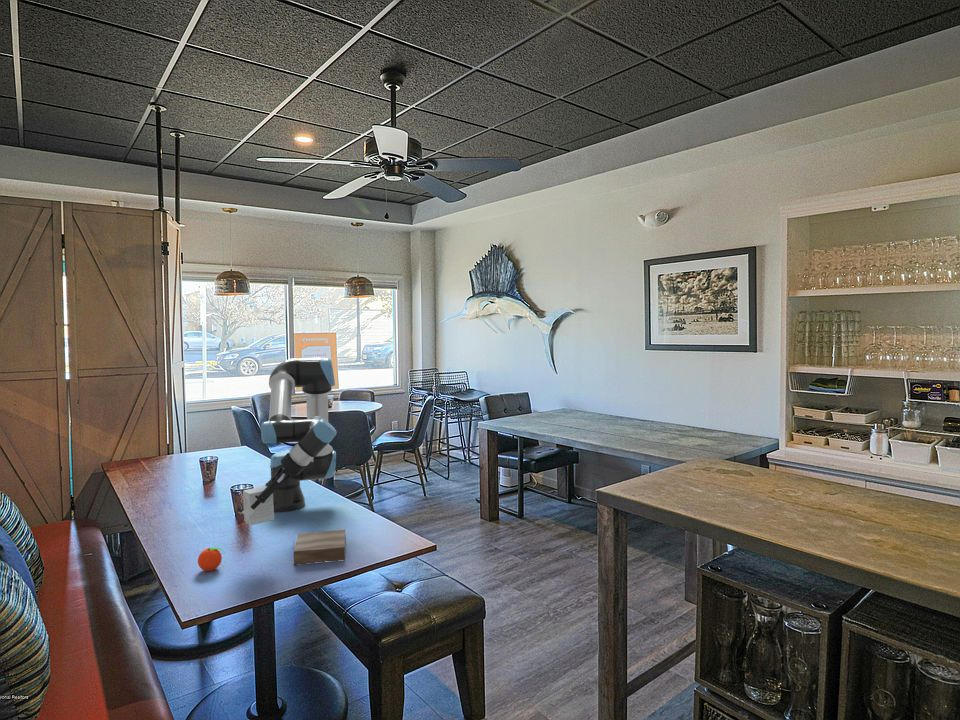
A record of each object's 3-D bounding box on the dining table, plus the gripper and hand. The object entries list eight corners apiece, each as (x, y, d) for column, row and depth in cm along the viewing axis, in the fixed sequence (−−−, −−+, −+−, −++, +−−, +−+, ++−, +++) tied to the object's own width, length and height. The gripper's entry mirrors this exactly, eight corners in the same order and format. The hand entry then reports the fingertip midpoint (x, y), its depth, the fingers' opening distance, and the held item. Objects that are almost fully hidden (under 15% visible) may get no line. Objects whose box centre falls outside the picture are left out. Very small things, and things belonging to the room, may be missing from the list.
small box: (267, 515, 194) (266, 485, 193) (274, 519, 190) (273, 488, 189) (243, 521, 188) (242, 490, 188) (250, 525, 184) (249, 493, 184)
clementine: (225, 563, 187) (224, 541, 186) (226, 571, 181) (225, 549, 180) (197, 568, 183) (196, 546, 182) (198, 576, 177) (197, 554, 176)
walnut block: (298, 547, 200) (298, 533, 200) (345, 543, 204) (345, 529, 203) (293, 566, 185) (293, 551, 184) (344, 561, 188) (344, 547, 188)
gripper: (302, 475, 180) (250, 529, 178) (309, 459, 201) (263, 506, 199) (283, 459, 179) (231, 513, 177) (292, 445, 200) (246, 492, 198)
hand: (248, 510), depth 188 cm, fingers closed on small box, 9 cm apart
